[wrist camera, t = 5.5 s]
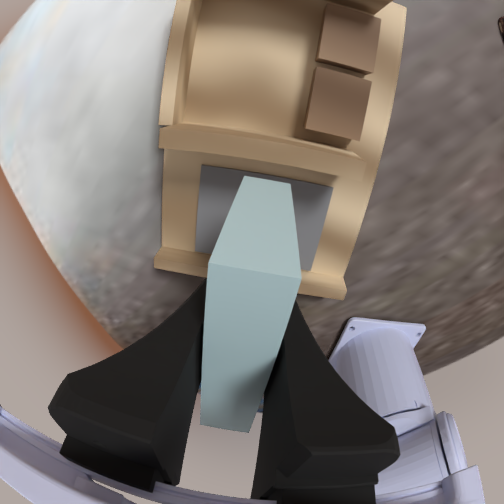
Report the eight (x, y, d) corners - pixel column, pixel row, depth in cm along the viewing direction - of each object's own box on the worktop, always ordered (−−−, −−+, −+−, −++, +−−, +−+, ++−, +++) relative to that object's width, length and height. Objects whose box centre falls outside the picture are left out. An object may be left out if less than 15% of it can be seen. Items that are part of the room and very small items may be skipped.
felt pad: (310, 269, 20) (310, 271, 20) (195, 249, 20) (194, 251, 20) (333, 187, 17) (333, 187, 17) (202, 164, 17) (201, 165, 17)
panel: (259, 320, 16) (248, 432, 10) (225, 314, 16) (200, 424, 10) (290, 183, 12) (301, 278, 6) (244, 175, 12) (208, 262, 6)
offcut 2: (352, 137, 15) (359, 141, 14) (303, 126, 15) (305, 128, 14) (364, 82, 13) (372, 81, 12) (313, 69, 13) (316, 66, 12)
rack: (338, 281, 21) (347, 318, 17) (164, 251, 21) (143, 283, 17) (403, 9, 11) (431, -7, 7) (194, -27, 11) (173, -53, 7)
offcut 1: (365, 75, 13) (373, 73, 12) (314, 61, 13) (318, 57, 12) (373, 24, 11) (381, 18, 10) (323, 10, 11) (327, 2, 10)
